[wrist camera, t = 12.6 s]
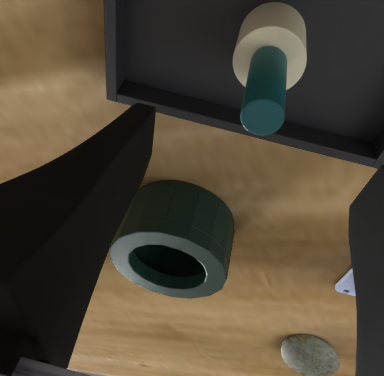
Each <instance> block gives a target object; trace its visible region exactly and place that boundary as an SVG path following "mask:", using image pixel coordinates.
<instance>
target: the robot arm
mask: <svg viewBox="0 0 384 376" xmlns="http://www.w3.org/2000/svg"><path fill="white" fill-rule="evenodd" d="M155 113H156V107H154V106H150V105H146V104H142V103H138V102H137V103H136V104H134V105H133V106H131V107H130V108H129V109H128V110H126V111H125V112H124V113H123V114H121V115H120V116H119V117H118V118H116V119H115V120H114V121H112V122H111V123H110V124H109V125H107V126H106V127H104V128H103V129H102V130H100V131H99V132H97V133H96V134H95V135H93V136H92V137H90V138H89V139H87V140H86V141H84V142H83V143H81V144H80V145H78V146H77V147H75V148H73V149H72V150H70V151H69V152H67V153H65V154H63V155H62V156H60V157H58V158H56V159H55V160H53V161H51V162H49V163H47V164H45V165H43V166H41V167H39V168H37V169H35V170H32V171H30V172H28V173H25V174H23V175H21V176H18V177H16V178H14V179H11V180H9V181H7V182H4V183H1V184H0V376H89V375H85V374H82V373H78V372H75V371H71V370H68V369H66V368H68V365H69V361H70V358H71V355H72V352H73V349H74V346H75V343H76V340H77V337H78V334H79V331H80V328H81V325H82V322H83V319H84V316H85V313H86V311H87V308H88V305H89V302H90V299H91V296H92V293H93V291H94V288H95V285H96V283H97V280H98V277H99V274H100V272H101V269H102V266H103V264H104V261H105V258H106V256H107V253H108V250H109V248H110V245H111V243H112V241H113V238H114V236H115V234H116V232H117V230H118V228H119V226H120V224H121V222H122V220H123V218H124V216H125V214H126V212H127V210H128V208H129V206H130V204H131V202H132V200H133V198H134V196H135V194H136V192H137V190H138V188H139V186H140V184H141V182H142V180H143V178H144V175H145V172H146V169H147V167H148V164H149V161H150V158H151V155H152V145H153V134H154V124H155ZM349 244H350V253H351V261H352V268H351V269H350V270H349V271H348V272H347V273H346V274H345V275H344V276H343V277H342V279H341V280H340V281H339V282H338V283H337V284H336V285H335V290H336V291H338V292H341V293H345V294H348V295H352V296H356V306H357V350H356V375H355V376H384V165H381V166H380V168H379V169H378V170H377V171H376V173H375V174H374V175H373V177H372V178H371V179H370V181H369V182H368V183H367V184H366V186H365V187H364V188H363V190H362V191H361V192H360V193H359V195H358V196H357V197H356V199H355V200H354V201H353V203H352V204H351V205H350V209H349Z"/></svg>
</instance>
